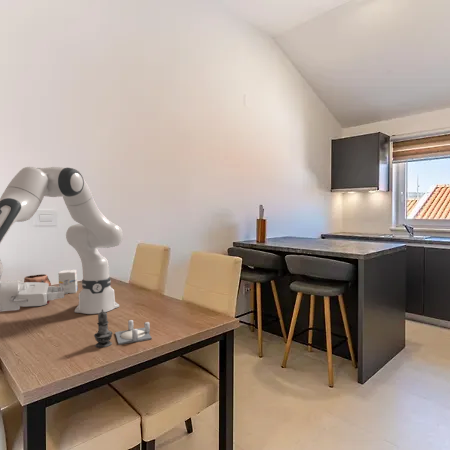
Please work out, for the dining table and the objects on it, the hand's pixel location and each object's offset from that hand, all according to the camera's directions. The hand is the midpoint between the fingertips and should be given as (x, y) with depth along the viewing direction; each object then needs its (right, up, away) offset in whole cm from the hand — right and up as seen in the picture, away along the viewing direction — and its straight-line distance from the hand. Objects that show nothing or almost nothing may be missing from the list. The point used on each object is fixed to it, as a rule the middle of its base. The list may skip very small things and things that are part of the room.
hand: (64, 292), depth 108 cm
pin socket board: (+18, -18, +13) cm, 29 cm away
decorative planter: (-40, -17, +57) cm, 71 cm away
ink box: (-35, -16, +79) cm, 88 cm away
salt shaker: (+10, -19, +6) cm, 22 cm away
